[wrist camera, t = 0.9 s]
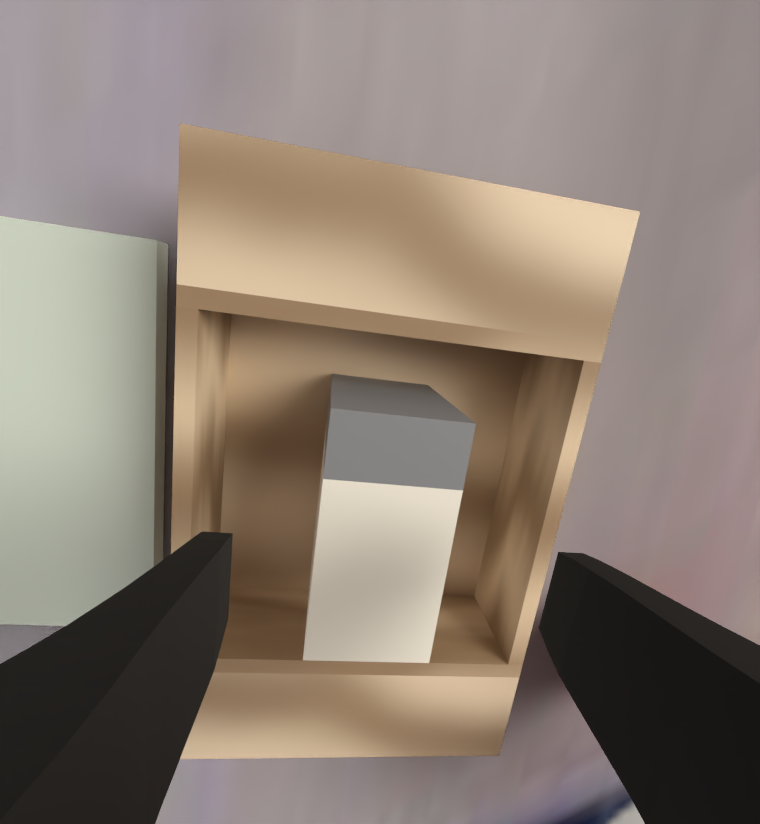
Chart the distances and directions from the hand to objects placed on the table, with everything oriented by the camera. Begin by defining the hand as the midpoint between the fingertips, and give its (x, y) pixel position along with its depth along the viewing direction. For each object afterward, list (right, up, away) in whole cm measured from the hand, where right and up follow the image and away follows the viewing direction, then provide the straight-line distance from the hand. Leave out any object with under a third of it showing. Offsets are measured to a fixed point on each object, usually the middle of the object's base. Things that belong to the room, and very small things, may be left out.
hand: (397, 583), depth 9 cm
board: (-15, +3, +7) cm, 17 cm away
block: (-1, +1, +9) cm, 9 cm away
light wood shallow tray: (-1, +1, +9) cm, 9 cm away
